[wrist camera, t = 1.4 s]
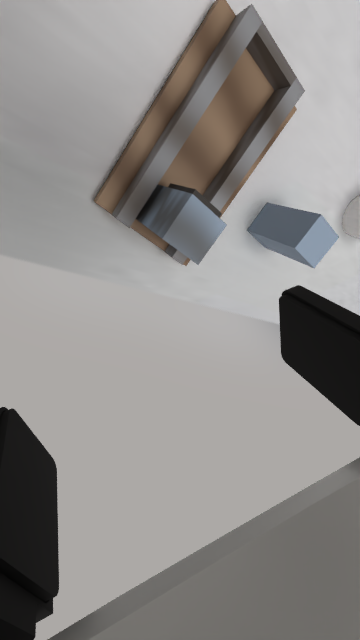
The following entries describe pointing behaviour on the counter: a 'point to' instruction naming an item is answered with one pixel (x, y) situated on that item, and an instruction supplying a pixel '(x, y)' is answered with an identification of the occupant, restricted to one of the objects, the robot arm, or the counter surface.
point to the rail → (203, 134)
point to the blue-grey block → (293, 233)
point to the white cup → (352, 218)
